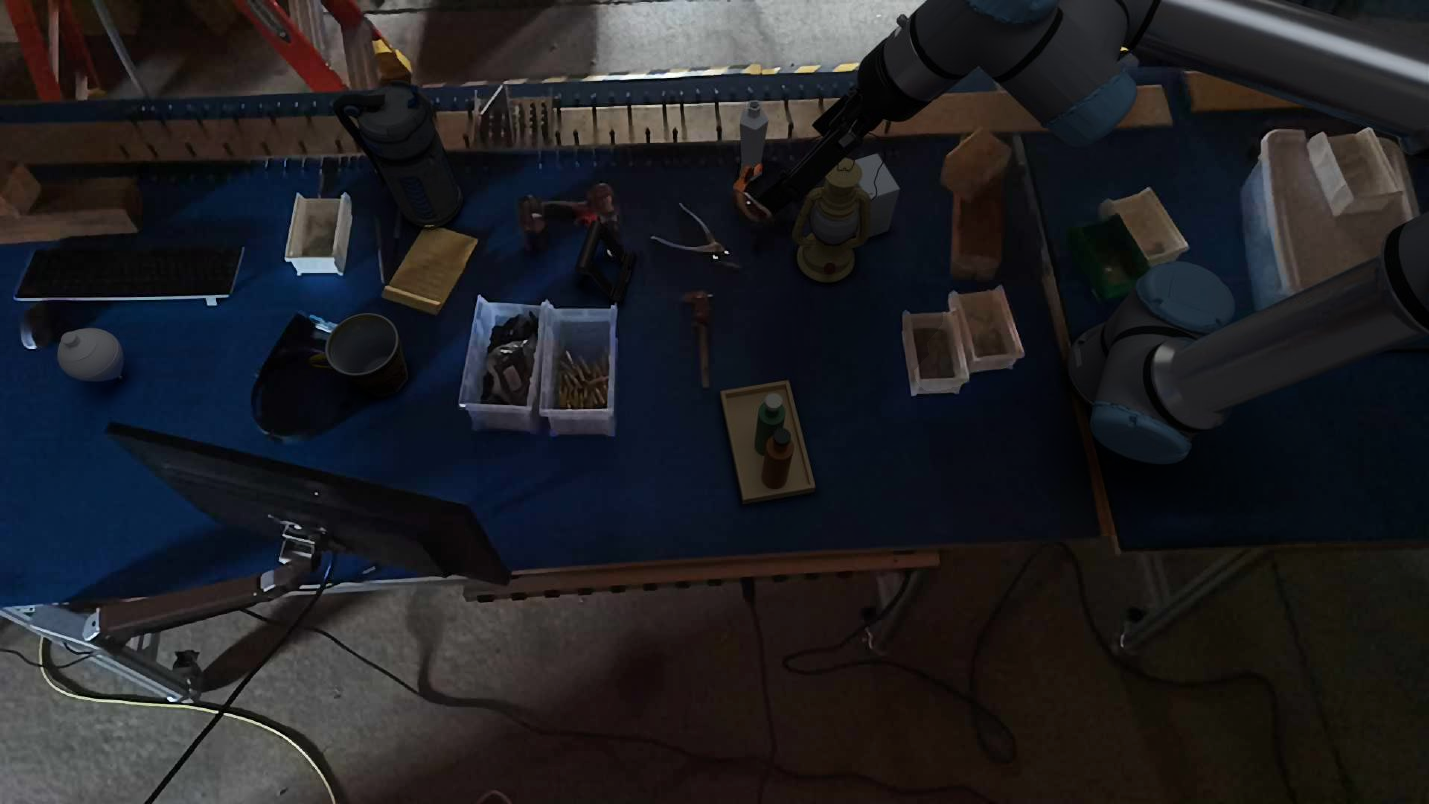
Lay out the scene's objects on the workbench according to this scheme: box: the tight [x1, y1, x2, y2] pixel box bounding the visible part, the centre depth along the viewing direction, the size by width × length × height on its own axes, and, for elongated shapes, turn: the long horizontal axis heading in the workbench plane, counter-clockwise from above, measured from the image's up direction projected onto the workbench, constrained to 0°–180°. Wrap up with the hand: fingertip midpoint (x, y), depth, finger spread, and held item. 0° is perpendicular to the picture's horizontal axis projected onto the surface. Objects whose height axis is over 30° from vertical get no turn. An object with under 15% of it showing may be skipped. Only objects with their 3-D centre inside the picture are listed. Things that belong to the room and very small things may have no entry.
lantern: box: [791, 131, 887, 283], centre depth 125 cm, size 12×10×30 cm
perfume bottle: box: [739, 99, 770, 182], centre depth 139 cm, size 5×4×15 cm
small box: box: [854, 153, 901, 238], centre depth 137 cm, size 8×6×10 cm
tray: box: [719, 379, 816, 505], centre depth 123 cm, size 10×17×2 cm, turn 11°
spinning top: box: [56, 327, 124, 382], centre depth 123 cm, size 8×8×12 cm
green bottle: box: [754, 393, 786, 456], centre depth 117 cm, size 4×4×14 cm
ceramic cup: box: [308, 312, 409, 398], centre depth 124 cm, size 13×10×10 cm
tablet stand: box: [574, 220, 637, 304], centre depth 133 cm, size 9×8×8 cm
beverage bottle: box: [332, 79, 464, 228], centre depth 131 cm, size 10×13×25 cm
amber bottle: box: [762, 428, 794, 489], centre depth 115 cm, size 4×4×14 cm
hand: (794, 167), depth 101 cm, fingers open, 13 cm apart
